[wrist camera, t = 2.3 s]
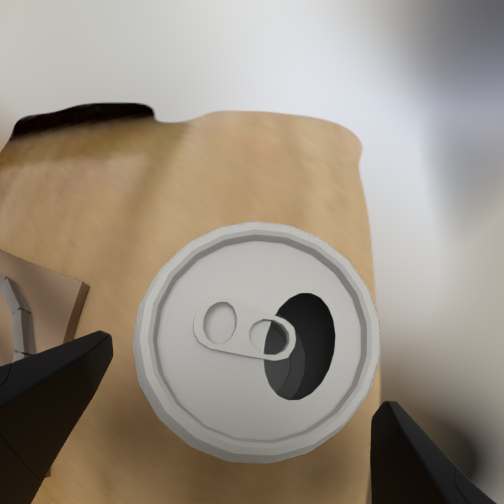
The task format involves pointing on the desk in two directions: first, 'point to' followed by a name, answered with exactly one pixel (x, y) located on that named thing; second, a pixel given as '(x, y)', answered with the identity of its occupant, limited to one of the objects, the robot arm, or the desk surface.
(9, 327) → the collar board
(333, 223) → the desk surface
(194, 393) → the can
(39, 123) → the desk surface
